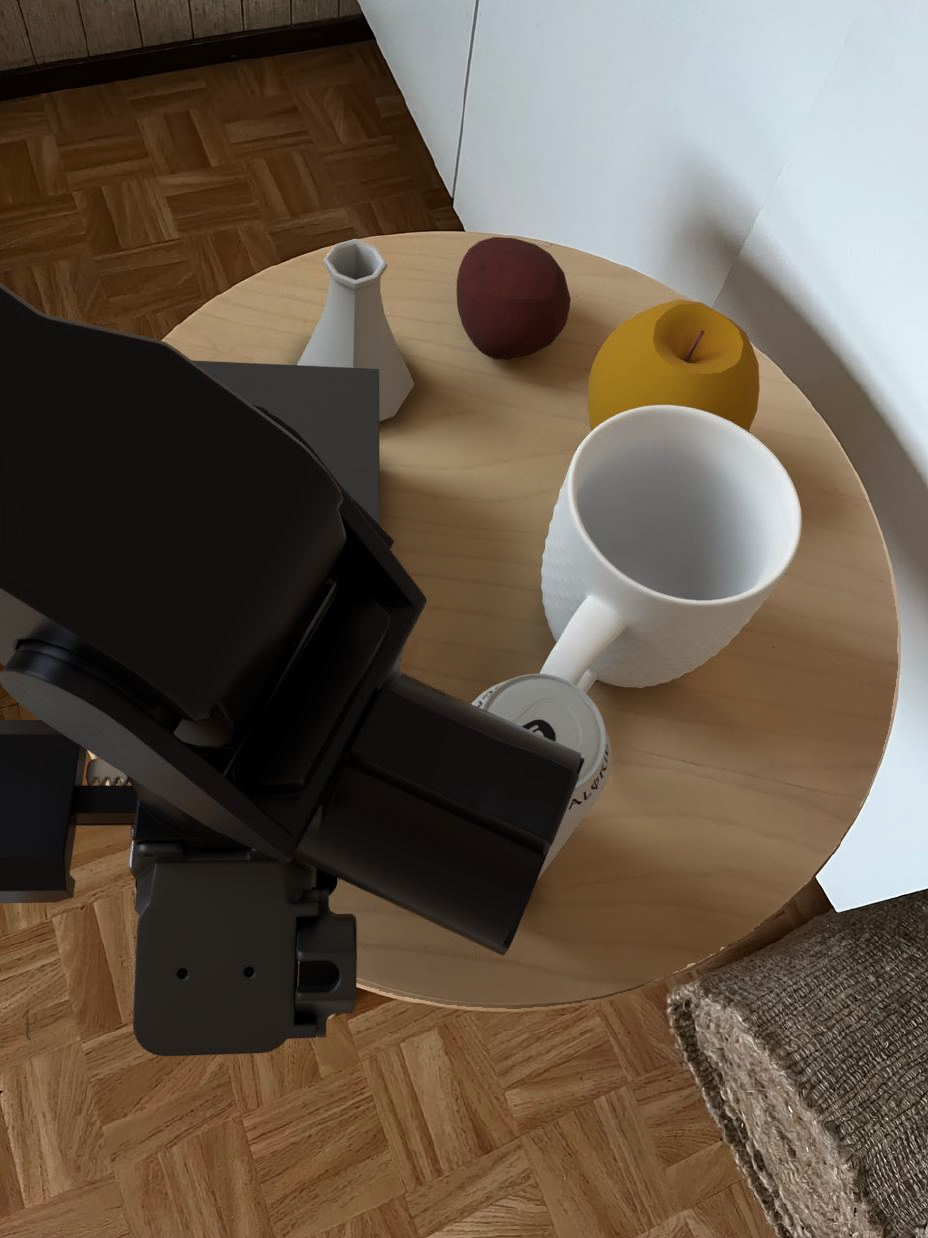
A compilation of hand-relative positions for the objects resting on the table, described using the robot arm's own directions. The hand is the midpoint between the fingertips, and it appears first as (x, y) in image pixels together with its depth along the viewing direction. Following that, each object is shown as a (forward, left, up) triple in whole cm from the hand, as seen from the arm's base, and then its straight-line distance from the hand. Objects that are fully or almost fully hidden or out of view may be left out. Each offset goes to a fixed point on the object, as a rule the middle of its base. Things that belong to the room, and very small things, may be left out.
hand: (253, 865), depth 44 cm
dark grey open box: (0, +19, -4) cm, 19 cm away
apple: (+22, +26, -5) cm, 34 cm away
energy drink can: (+11, +2, -5) cm, 12 cm away
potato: (+14, +36, -5) cm, 39 cm away
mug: (+18, +13, -5) cm, 23 cm away
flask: (+4, +31, -5) cm, 32 cm away
